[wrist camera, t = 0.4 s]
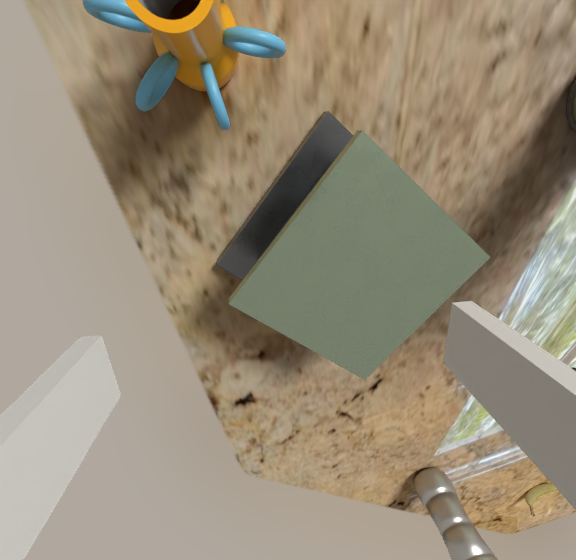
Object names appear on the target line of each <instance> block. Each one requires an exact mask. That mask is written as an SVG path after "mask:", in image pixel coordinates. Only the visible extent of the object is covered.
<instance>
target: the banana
mask: <svg viewBox="0 0 576 560" xmlns="http://www.w3.org/2000/svg"><path fill="white" fill-rule="evenodd" d="M557 490H558V489H557V488H556V487H555V486H554V485H553V484H552V483H544V484H541V485H538V486H535V487H534V488H532V489H530V490H529V491H528V493H527V494H526V498H525V499H526V502H527V504H528V505H529V506H530V510H531V515H532V516H535V514H534V512H533V509H532V506H533V503H534V501H535V499H536V498H538V497H539V496H541V495H543V494H545V493H548V492H553V491H557Z"/></svg>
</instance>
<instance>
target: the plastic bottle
mask: <svg viewBox="0 0 576 560" xmlns="http://www.w3.org/2000/svg"><path fill="white" fill-rule="evenodd" d="M414 487H415V490H416V493H417V495H418V497H419V499H420V500H421V502H422V503H423V505H424V506H425V507H426V508H427V510H428V512H429V513H430V515H431V517H432V519H433V520H434V522H435V524H436V525H437V527H438V529H439V531H440V534H441V535H442V537H443V540H444V542H445V544H446V546H447V549H448V551H449V554H450V557H451V559H452V560H498V559H497V558H496V557H495V555H494V554H493V552H492V551H491V549H490V548H489V547H488V546H487V544H486V543H485V541H484V540H483V539H482V537H481V536H480V535H479V533H478V531H477V530H476V528H475V527H474V525H473V524H472V522H471V521H470V519H469V517H468V516H467V514H466V512H465V510H464V508H463V506H462V504H461V502H460V500H459V498H458V497H457V494H456V491H455V489H454V487H453V484H452V482H451V480H450V479H449V478H448V476H447V475H446V474H445V473H444V472H443V471H441V470H439V469H437V468H428V469H425V470H423V471H421V472H420V473H418V474H417V475H416V477H415V479H414Z"/></svg>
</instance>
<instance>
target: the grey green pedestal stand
mask: <svg viewBox="0 0 576 560" xmlns="http://www.w3.org/2000/svg"><path fill="white" fill-rule="evenodd" d="M490 258H491V257H490V256H489V255H488V254H487V253H486V252H485V251H484V250H483V249H482V248H481V247H480V246H479V245H478V244H477V243H476V242H475V241H474V240H473V239H472V238H471V237H470V236H469V235H468V234H467V233H466V232H465V231H464V230H462V229H461V228H460V227H459V226H458V225H457V224H456V223H455V222H454V221H453V220H452V219H451V218H450V217H449V216H448V215H447V214H446V213H445V212H444V211H443V210H442V209H441V208H440V207H439V206H438V205H437V204H436V203H435V202H434V201H433V200H432V199H431V198H430V197H429V196H428V195H427V194H426V193H425V192H424V191H423V190H422V189H421V188H420V187H419V186H418V185H417V184H416V183H415V182H414V181H413V180H412V179H411V178H410V177H409V176H408V175H407V174H406V173H405V172H404V171H403V170H402V169H401V168H400V167H399V166H398V165H397V164H396V163H395V162H394V161H393V160H392V159H391V158H390V157H389V156H388V155H387V154H386V153H385V152H384V151H383V150H382V149H381V148H380V147H379V146H378V145H377V144H376V143H375V142H374V141H373V140H372V139H371V138H370V137H369V136H368V135H367V134H366V133H365V132H364V131H357V132H356V133H355V135H354V136H353V135H352V134H351V133H350V132H349V131H348V130H347V129H346V128H345V127H344V126H343V125H342V124H341V123H340V122H339V121H338V120H337V119H336V118H335V117H334V116H333V115H332V114H331V113H329V112H324V113H323V114H322V116H321V117H320V118H319V120H318V121H317V123H316V124H315V125H314V127H313V128H312V129H311V131H310V132H309V134H308V135H307V136H306V138H305V139H304V141H303V142H302V143H301V145H300V146H299V148H298V149H297V150H296V152H295V153H294V154H293V156H292V157H291V159H290V160H289V161H288V163H287V164H286V166H285V167H284V168H283V170H282V171H281V173H280V174H279V175H278V177H277V178H276V179H275V181H274V182H273V184H272V185H271V186H270V188H269V189H268V191H267V192H266V193H265V195H264V196H263V197H262V199H261V200H260V202H259V203H258V204H257V206H256V207H255V209H254V210H253V211H252V213H251V214H250V216H249V217H248V218H247V220H246V221H245V222H244V224H243V225H242V227H241V228H240V229H239V231H238V232H237V234H236V235H235V236H234V238H233V239H232V240H231V242H230V243H229V245H228V246H227V247H226V249H225V250H224V252H223V253H222V254H221V256H220V257H219V259H218V261H217V265H218V266H219V267H221V268H223V269H224V270H226V271H228V272H229V273H231V274H233V275H234V276H236V277H238V278H239V279H241V280H243V281H242V282H241V283H240V284H239V286H238V287H237V288H236V290H235V291H234V292H233V294H232V295H231V296H230V297H229V305H231V306H233V307H234V308H236V309H238V310H240V311H242V312H243V313H245V314H247V315H249V316H251V317H253V318H254V319H256V320H258V321H260V322H262V323H263V324H265V325H267V326H269V327H271V328H272V329H274V330H276V331H278V332H280V333H281V334H283V335H285V336H287V337H289V338H290V339H292V340H294V341H296V342H298V343H299V344H301V345H303V346H305V347H307V348H308V349H310V350H312V351H314V352H316V353H317V354H319V355H321V356H323V357H325V358H327V359H328V360H330V361H332V362H334V363H336V364H337V365H339V366H341V367H343V368H345V369H346V370H348V371H350V372H352V373H354V374H355V375H357V376H359V377H361V378H363V379H364V380H365V379H366V378H367V377H368V376H369V375H370V374H371V373H372V372H373V371H374V370H375V369H376V368H377V367H378V366H379V365H380V364H382V363H383V362H384V361H385V360H386V359H387V358H388V357H389V356H390V355H391V354H392V353H393V352H394V351H395V350H396V349H397V348H398V347H399V346H400V345H401V344H402V343H403V342H404V341H405V340H406V339H407V338H408V337H409V336H410V335H411V334H412V333H413V332H414V331H415V330H417V329H418V328H419V327H420V326H421V325H422V324H423V323H424V322H425V321H426V320H427V319H428V318H429V317H430V316H431V315H432V314H433V313H434V312H435V311H436V310H437V309H438V308H439V307H440V306H441V305H442V304H443V303H444V302H445V301H446V300H447V299H448V298H449V297H450V296H452V295H453V294H454V293H455V292H456V291H457V290H458V289H459V288H460V287H461V286H462V285H463V284H464V283H465V282H466V281H467V280H468V279H469V278H470V277H471V276H472V275H473V274H474V273H475V272H476V271H477V270H478V269H479V268H480V267H481V266H482V265H483V264H484V263H485V262H486V261H488V260H489V259H490Z"/></svg>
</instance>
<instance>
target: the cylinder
mask: <svg viewBox="0 0 576 560" xmlns="http://www.w3.org/2000/svg"><path fill="white" fill-rule="evenodd" d="M83 5H84V7H85V9H86V10H87V12H88V13H89V14H91V15H92V16H94V17H95V18H97V19H99V20H102V21H104V22H106V23H109V24H112V25H115V26H118V27H122V28H125V29H129V30H134V31H139V32H146V33H152V36H153V41H154V45H155V48H156V51H157V53H158V55H159V57H158V58H157V59H156V60H155V61H154V63H153V64H152V65H151V66H150V68H149V69H148V71H147V72H146V74H145V75H144V77H143V79H142V81H141V83H140V85H139V87H138V90H137V93H136V97H135V103H136V106H137V107H138V109H140V110H141V111H149V110H151V109H152V108H153V107H155V106H156V105H157V104H158V102H159V101H160V100H161V99H162V98H163V96H164V95H165V93H166V92H167V90H168V89H169V87H170V86H171V84H172V82H173V80H174V78H175V77H176V78H177V79H178V80H180V81H181V82H182V83H184V84H185V85H187V86H188V87H190V88H192V89H195V90H198V91H207V93H208V96H209V99H210V102H211V105H212V108H213V111H214V113H215V116H216V119H217V121H218V124H219V126H220V128H221V129H222V130H228V129H229V128H230V121H229V118H228V115H227V112H226V108H225V105H224V102H223V99H222V96H221V93H220V90H219V88H221V87H223V86H224V85H225V84H227V83H228V81H229V80H230V79H231V78H232V76H233V74H234V72H235V70H236V67H237V63H238V57H239V52H240V53H243V54H247V55H251V56H256V57H262V58H279V57H282V56H283V55H284V54H285V52H286V45H285V43H284V42H283V40H282V39H280V38H279V37H277V36H275V35H273V34H271V33H268V32H265V31H262V30H258V29H253V28H248V27H237V26H236V23H235V20H234V17H233V15H232V13H231V11H230V9H229V7H228V6H227V4H226V3H225V2H224V1H223V0H83Z"/></svg>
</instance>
